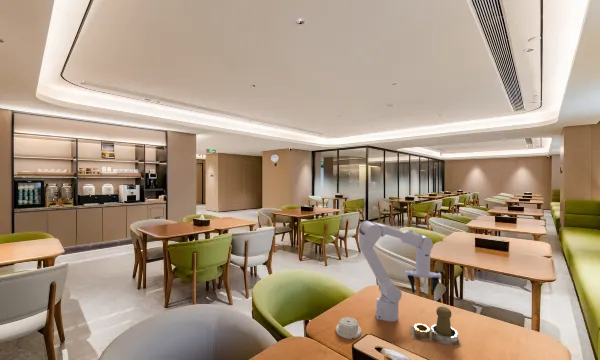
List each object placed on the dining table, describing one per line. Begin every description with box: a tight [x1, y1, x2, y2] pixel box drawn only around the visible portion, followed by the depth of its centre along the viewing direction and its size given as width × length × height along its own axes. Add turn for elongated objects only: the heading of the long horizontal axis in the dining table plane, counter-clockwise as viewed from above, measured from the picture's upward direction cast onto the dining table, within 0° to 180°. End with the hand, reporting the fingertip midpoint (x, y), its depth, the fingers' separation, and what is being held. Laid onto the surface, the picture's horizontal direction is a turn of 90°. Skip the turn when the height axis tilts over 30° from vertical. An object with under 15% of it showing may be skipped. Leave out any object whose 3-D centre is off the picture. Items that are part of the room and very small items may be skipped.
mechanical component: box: [335, 316, 362, 340], centre depth 115 cm, size 10×4×10 cm
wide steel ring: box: [430, 323, 459, 346], centre depth 110 cm, size 9×9×2 cm
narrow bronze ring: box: [413, 323, 431, 338], centre depth 112 cm, size 6×6×2 cm
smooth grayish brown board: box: [408, 325, 462, 347], centre depth 111 cm, size 17×9×1 cm, turn 76°
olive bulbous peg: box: [435, 306, 453, 337], centre depth 110 cm, size 6×6×11 cm
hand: (422, 293), depth 126 cm, fingers open, 7 cm apart
